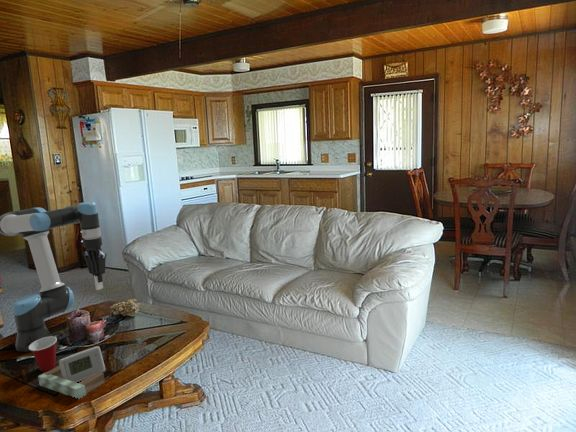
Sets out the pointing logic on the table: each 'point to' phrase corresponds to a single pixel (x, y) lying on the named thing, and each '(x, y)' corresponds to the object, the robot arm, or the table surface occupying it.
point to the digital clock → (82, 364)
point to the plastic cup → (44, 352)
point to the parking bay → (70, 383)
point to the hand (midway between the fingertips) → (99, 288)
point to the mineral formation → (126, 308)
